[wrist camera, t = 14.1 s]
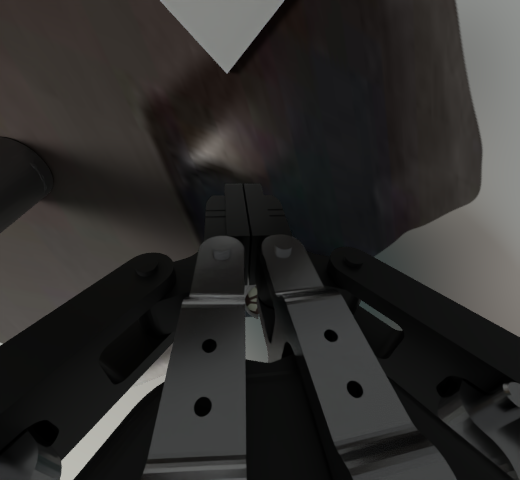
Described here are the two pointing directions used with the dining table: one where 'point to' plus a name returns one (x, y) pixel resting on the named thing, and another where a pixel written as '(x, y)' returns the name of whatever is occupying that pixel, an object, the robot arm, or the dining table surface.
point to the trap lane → (223, 24)
